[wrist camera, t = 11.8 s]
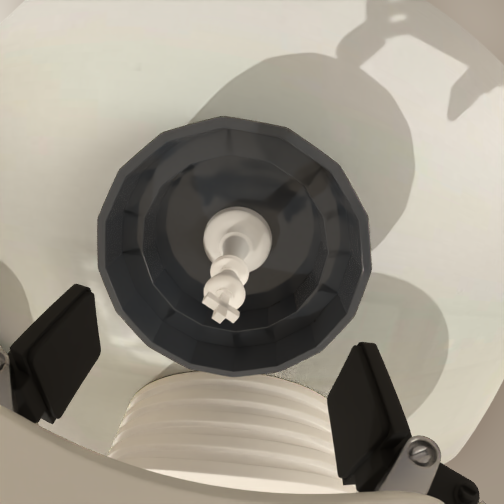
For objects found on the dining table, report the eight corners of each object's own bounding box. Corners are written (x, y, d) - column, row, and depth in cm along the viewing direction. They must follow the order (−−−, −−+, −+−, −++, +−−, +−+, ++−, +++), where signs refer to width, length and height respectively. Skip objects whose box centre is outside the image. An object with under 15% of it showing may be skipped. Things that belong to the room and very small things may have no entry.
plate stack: (199, 489, 39) (190, 541, 28) (86, 391, 30) (49, 459, 19) (361, 461, 34) (373, 523, 23) (307, 334, 25) (326, 444, 14)
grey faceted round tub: (146, 112, 19) (107, 106, 13) (368, 153, 19) (404, 160, 14) (132, 305, 25) (104, 346, 19) (312, 340, 25) (322, 388, 20)
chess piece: (244, 283, 23) (232, 376, 13) (191, 245, 22) (143, 322, 13) (286, 234, 21) (302, 309, 12) (230, 192, 20) (201, 238, 11)
